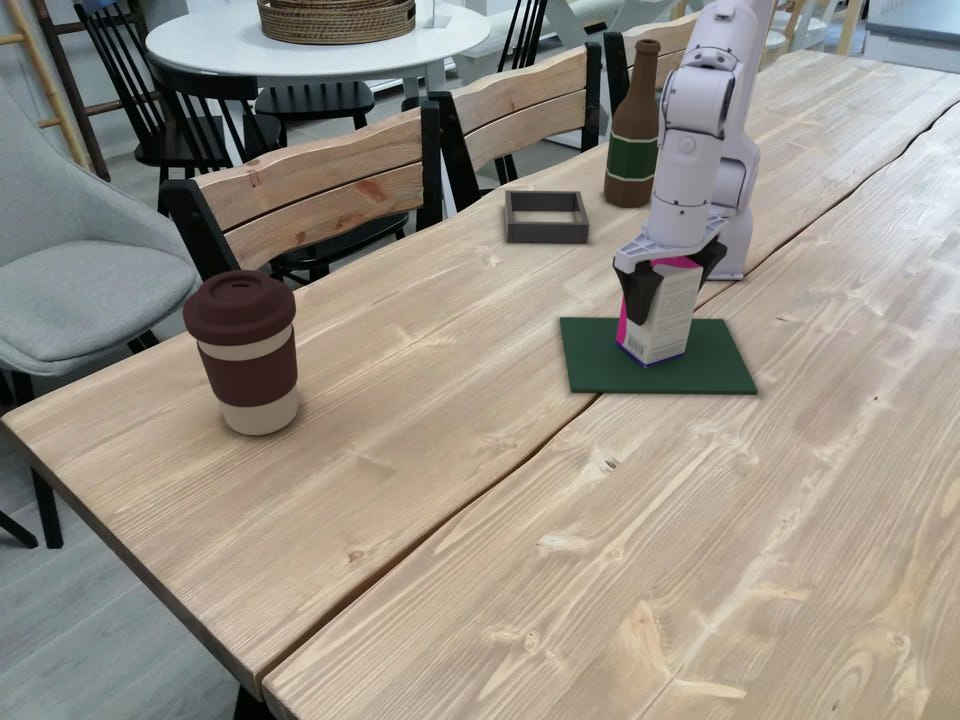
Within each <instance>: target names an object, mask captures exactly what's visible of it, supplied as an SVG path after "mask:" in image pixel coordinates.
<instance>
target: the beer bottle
mask: <svg viewBox="0 0 960 720" xmlns="http://www.w3.org/2000/svg"><path fill="white" fill-rule="evenodd" d="M634 49H635V56H634V61H633V66H632V70H631V76H630V81H629V87H628V89H627V93H626V96H625V98H624V99H623V100H622V101H621V102H620V104H619V105H618V106H617V108H616V110H615V112H614V113H613V116H612V120H611V126H610V133H609V140H608V149H607V157H606V163H605V164H606V166H605V174H604V175H605V176H604V180H603V181H604V182H603V195H604V198H605V200H606V202H607V203H609V204H612V205H614V206H617V207H619V208H640V207H643V206H644V205H646V204H648V203H649V202H650V201H651V199H652V194H653V189H654V183H655V177H656V171H657V165H658V159H659V153H660V148H658V147H657V145H658V144H657V142H658V135H659V108H660V107H659V106H658V104H657V101H656V84H657V82H656V81H657V74H658V73H657V71H658V63H659V62H658V61H659V52H662V46H661V42H659V41H658V40H656V39H652V38H643V39H640V40H636V43H635V45H634Z"/></svg>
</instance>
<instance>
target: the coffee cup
mask: <svg viewBox="0 0 960 720" xmlns="http://www.w3.org/2000/svg"><path fill="white" fill-rule="evenodd" d="M181 311H182V313H181V314H182V319H183V322H184V326H185V329H186V331H187V332H188V334H189V335H190V336H191V337H192V338H194V339H195V340H196V347H197V351H198V354H199V357H200V359H201V362H202V365H203V367H204V370H205V373H206V376H207V379H208V382H209V385H210V388H211V390H212V392H213V394H214V396H215V398H217V400H218V403H219V406H220V408H221V411H222V414H223V417H224V421H225V422H226V424H227V425H228V426H229V428H230V429H232V431H235V432H237V433H238V434H242V435H247V436H263V435H268V434H271V433H274V432H275V433H276V432H278V431H280V430H282V429H283V428H284V427H286V426H288V425H289V424H290V423H291V422H292V421H293V420H294V418H295V417H296V415H297V413H298V410H299V398H298V387H297V386H298V385H297V382H298V377H299V376H298V375H299V374H298V360H297V349H296V348H297V347H296V333H295V327H294V324H293V323H292V322H293V321H294V319H295V317H296V314H297V305H296V298H295V294H294V292H293V290H292V288H291V287H290V286H288V284H286V283H284V282H283V281H280V280H279V279H275V278H272V277H271V276H270V275H268V274H266V273H264V272H262V271H258V270H254V269H253V270H252V269H237V270H236V269H235V270H229V271H224V272H220V273H218V274H216V275H212V276H211V277H209V278H208V279H206V280H205V281H203V282H202V283H201V285H200V286H199V287H198V288H197V290H196V291H195V292H193V293H192V294H190V296H189V297H188V298H187V299H186V300H185V302H184V304H183V306H182V310H181Z"/></svg>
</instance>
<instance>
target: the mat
mask: <svg viewBox="0 0 960 720" xmlns="http://www.w3.org/2000/svg"><path fill="white" fill-rule="evenodd" d="M619 319H620V317H592V316H591V317H589V316H588V317H587V316H586V317H585V316H583V317H582V316H581V317H579V316H578V317H577V316H573V317H572V316H560V317H559V324H560V325H559V326H560V332H561V337H562V343H563V349H564V356H565V361H566V362H565V363H566V369H567V375H568V381H569V388H570V392H571V393H599V394H600V393H603V394H605V393H607V394H608V393H609V394H611V393H612V394H613V393H615V394H623V393H624V394H697V395H698V394H700V395H701V394H703V395H758V392H759V390H758V388H757V386H756V384H755V382H754V380H753V377H752V376H751V373H750V372H749V369H748V367H747V365H746V363H745V361H744V359H743V357H742V355H741V353H740V350H739V349H738V347H737V345H736V343H735V340H734V338H733V337H732V334H731V332H730V330H729V328H728V325H727V324H726V322H725V320H724V319H723V318H692V320H691V325H690V330H689V334H688V339H687V343H686V348H685V352H684V355H683V356H681V357H679V358H675V359H673V360H669V361H666V362H663V363H660V364H658V365H655V366H652V367H649V368H646V369H645V368H644V367H643V366H641V365H640V364H639V363H638V362H637V361H636V360H634V359H633V358H632V357H631V356H630V355H628V354H627V353H626V352H625V351H624V350H622V349H621V348H620V347H619V346H618V345H616V343H615V342H616V337H617V331H618V325H619Z"/></svg>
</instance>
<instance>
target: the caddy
mask: <svg viewBox="0 0 960 720" xmlns="http://www.w3.org/2000/svg"><path fill="white" fill-rule="evenodd" d="M513 211H548V212H549V211H551V212H552V211H553V212H573V213H574V217H575V221H568V222H567V221H516V220H515V221H514V215H513ZM504 219H505V234H506V242H507V243H517V244H518V243H520V244H521V243H523V244H524V243H526V244H527V243H528V244H529V243H530V244H533V243H534V244H588V239H589V231H590V222H589V219H588V215H587V211H586V207H585V205H584V200H583V197H582V192H581V191H579V190H517V189H516V190H515V189H513V190H512V189H508V190H504Z"/></svg>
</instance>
